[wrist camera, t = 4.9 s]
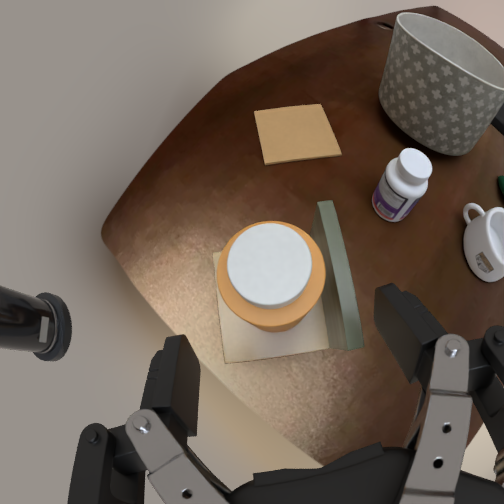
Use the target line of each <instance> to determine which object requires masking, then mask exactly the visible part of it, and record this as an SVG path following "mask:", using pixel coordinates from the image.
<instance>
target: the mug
mask: <svg viewBox="0 0 504 504" xmlns="http://www.w3.org/2000/svg"><path fill="white" fill-rule="evenodd" d="M469 209H475V210H476V211H477V212H478V213H479V214H480V216H478V217H476V218H475V219H473V220H472V221H471V220H470V218H469V216H468V210H469ZM463 216H464V219H465V221H466V223H467V224H468V225H467V227H466V229H465V233H464V239H463V240H464V252H465V256H466V259H467V262H468V264H469V266H470V268H471V269H472V271H473V272H474V273H475V274H476V275H477V276H478V277H479V278H480V279H482V280H483V281H486V282H494V281H497V280H499V279H500V278H502V277H504V209H503V208H501V207H495V208H492V209H490V210H488V211H487V212H484V211H483V209H482V208H481V207H480V206H479V205H477V204H475V203H469V204H467V205H465V207H464V209H463Z"/></svg>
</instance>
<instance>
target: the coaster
mask: <svg viewBox="0 0 504 504" xmlns="http://www.w3.org/2000/svg"><path fill="white" fill-rule="evenodd" d="M254 115H255V119H256V124H257V129H258V134H259V138H260V143H261V148H262V153H263V158H264V163H265V165H271V164H278V163H285V162H293V161H300V160H309V159H317V158H326V157H337V156H341V155H342V153H341V151H340V148H339V146H338V143H337V141H336V138H335V136H334V133H333V131H332V129H331V126H330V124H329V122H328V119H327V117H326V115H325V113H324V110H323V108H322V106H321V104H315V105H303V106H293V107H284V108H275V109H268V110H261V111H254Z"/></svg>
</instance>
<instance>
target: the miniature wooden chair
mask: <svg viewBox="0 0 504 504" xmlns="http://www.w3.org/2000/svg"><path fill="white" fill-rule="evenodd" d="M310 237H311V238H312V239H313V240H314V241H315V243H316V244H317V246H318V247H319V249H320V251H321V253H322V255H323V259H324V262H325V269H326V278H325V284H324V288H323V291H322V294H321V296H320V298H319V300H318V301H317V303H316V304H315V306H314V307H313V308H312V309H311V310H310V311H309V313H308V314H307V315H306V316H305V317H304V318H303V319H302V320H301V321H300V322H299V323H298V324H297V325H296V326H294V327H293V328H291V329H289V330H286V331H283V332H267V331H264V330H261V329H259V328H257V327H255V326H253V325H251V324H250V323H248V322H246V321H244V320H243V319H241V318H239V317H238V316H237V315H235V314H234V313H233V312H232V311H231V310H230V309H229V308H228V306H227V305H226V304H225V302H224V300H223V299H222V296H221V294H220V292H219V288H218V284H217V265H218V261H219V258H220V255H221V253H222V252H215V253H213V262H214V273H215V283H216V293H217V303H218V312H219V321H220V329H221V338H222V346H223V354H224V361H225V364H228V363H238V362H247V361H255V360H263V359H270V358H278V357H284V356H291V355H297V354H303V353H308V352H314V351H319V350H324V349H329V348H331V349H339V350H347V351H349V350H354V349H358V348H362V347H364V340H363V334H362V328H361V322H360V316H359V311H358V305H357V300H356V295H355V290H354V285H353V280H352V276H351V271H350V267H349V262H348V258H347V254H346V250H345V246H344V242H343V238H342V234H341V230H340V226H339V222H338V218H337V215H336V211H335V208H334V204H333V201H332V200H329V201H321V202H317V206H316V211H315V215H314V220H313V224H312V228H311V233H310Z"/></svg>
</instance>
